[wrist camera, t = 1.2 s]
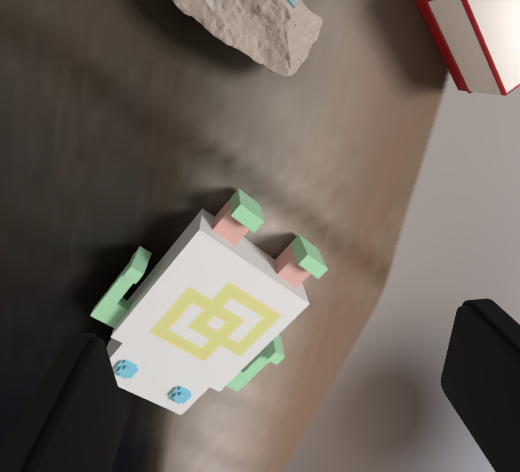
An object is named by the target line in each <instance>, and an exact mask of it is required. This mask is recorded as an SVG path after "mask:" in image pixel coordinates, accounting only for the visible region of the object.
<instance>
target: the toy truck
mask: <svg viewBox="0 0 520 472" xmlns="http://www.w3.org/2000/svg"><path fill="white" fill-rule="evenodd" d="M415 2H416V4H417V6H418V8H419V10H420V12H421V14H422V16H423V18H424V20H425V22H426V24H427V26H428V28H429V31H430V33H431V35H432V37H433V39H434V41H435V43H436V45H437V47H438V49H439V51H440V53H441V55H442V57H443V59H444V62H445V64H446V66H447V68H448V70H449V72H450V74H451V76H452V78H453V80H454V82H455V84H456V86H457V88H458V90H461V91H467V92H468V93H472V92H479V93H488V94H497V95H507V94H508V93H510V92H511V91H513V90H514V89H515V88H517V87H518V86H519V85H520V0H415Z"/></svg>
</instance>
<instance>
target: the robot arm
mask: <svg viewBox="0 0 520 472" xmlns="http://www.w3.org/2000/svg"><path fill="white" fill-rule="evenodd" d="M441 386H442V389H443V391H444V393H445V395H446V396H447V398H448V399H449V401H450V402H451V404H452V406H453V407H454V409H455V410H456V412H457V413H458V415H459V416H460V418H461V419H462V421H463V422H464V424H465V426H466V427H467V429H468V430H469V432H470V433H471V435H472V436H473V438H474V439H475V441H476V442H477V444H478V445H479V447H480V449H481V450H482V452H483V453H484V455H485V456H486V458H487V459H488V461H489V462H490V464H491V465H492V467H493V468H494V470H495V472H520V325H519V324H518V323H517V322H516V321H515V320H514V319H513V318H512V317H510V316H509V315H508V314H507V313H506V312H505V311H504V310H503V309H501V308H500V307H499V306H498V305H497V304H496V303H495V302H494V301H492V300H491V299H477V300H467V301H465V302H464V303H463V304H462V306H461V307H459V308H458V309H457V312H456V316H455V321H454V325H453V329H452V333H451V338H450V342H449V346H448V350H447V355H446V359H445V363H444V368H443V372H442V376H441ZM125 420H126V412H125V407H124V404H123V401H122V398H121V394H120V391H119V388H118V384H117V381H116V378H115V375H114V371H113V368H112V365H111V361H110V358H109V355H108V352H107V348H106V345H105V342H104V340H103V339H102V338H97V336H96V335H95V334H94V333H88V334H76V335H70V336H68V337H67V339H66V340H65V342H64V344H63V345H62V347H61V349H60V350H59V352H58V354H57V355H56V357H55V359H54V360H53V362H52V364H51V365H50V367H49V369H48V371H47V372H46V374H45V376H44V377H43V379H42V381H41V382H40V384H39V386H38V387H37V389H36V391H35V392H34V394H32V395H31V396H29V397H28V399H27V400H26V401H25V403H24V404H23V406H22V408H21V409H20V411H19V413H18V414H17V416H16V418H15V419H14V421H13V423H12V424H11V426H10V427H9V429H8V431H7V432H6V434H5V436H4V437H3V439H2V441H1V442H0V472H111V470H112V467H113V463H114V460H115V457H116V453H117V450H118V446H119V443H120V439H121V436H122V432H123V429H124V425H125Z"/></svg>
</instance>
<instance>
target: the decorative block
mask: <svg viewBox="0 0 520 472" xmlns="http://www.w3.org/2000/svg"><path fill="white" fill-rule="evenodd" d="M263 223H264V219H263V215H262V211H261V208H260V204H258V203H257V202H256V201H254V200H253V199H252V198H251V197H249V196H248V195H247V194H245V193H244V192H243V191H241V190H240V189H239V188H238V190H237V191H236V192H235V193H234V194H233V196H232V197H231V198H230V199H229V200H228V202H227V203H226V204H225V205H224V206H223V208H222V209H221V210H220V211H219V212H218V214H217V215H216V216H215V217H214V216H213V215H211V214H210V213H208V212H207V211H206V210H204V209H203V208H202V210H201V211H200V212H199V213H198V215H197V216H196V217H195V218H194V220H193V221H192V222H191V223H190V224H189V226H188V227H187V228H186V229H185V231H184V232H183V233H182V234H181V236H180V237H179V238H178V239H177V240H176V242H175V243H174V244H173V245H172V247H171V248H170V249H169V250H168V252H167V253H166V254H165V255H164V256H163V258H162V259H161V260H160V261H159V263H158V264H157V265H156V266H155V268H154V269H153V270H152V271H151V272H150V274H149V275H148V276H147V277H146V279H145V280H144V281H143V282H142V284H141V285H140V286H139V287H138V289H137V290H136V291H135V292H134V293H133V295H132V296H131V297H130V298H129V300H128V301H127V300H125V299H124V298H122V297H123V296H124V294H125V293H126V292H127V291H128V289H129V288H130V287H131V286H132V284H133V283H135V284H136V283H137V282H138V281H139V280H140V278H141V277H142V276H143V275H144V272H145V270H146V267H147V264H148V262H149V259H150V256H151V254H152V253H150V252H149V251H147V250H145V249H144V248H142V247H141V246H140V247H139V248H138V249H137V251H136V252H135V253H134V255H133V256H132V258H131V260H130V262H129V264H128V265H127V266H126V267H125V269H124V270H123V271H122V273H121V274H120V275H119V276H118V278H117V279H116V280H115V282H114V283H113V284H112V285H111V287H110V288H109V289H108V291H107V292H106V293H105V294H104V296H103V297H102V298H101V300H100V301H99V302H98V303H97V305H96V306H95V307H94V309H93V311H92V313H91V315H90V316H91V317H93V318H95V319H97V320H99V321H101V322H103V323H105V324H107V325H109V326H111V327H113V328H114V330H113V332H112V335H111V338H112V339H111V340H110V341H109V343H108V345H107V352H108V355H109V358H110V361H111V365H112V368H113V371H114V375H115V378H116V381H117V384H118V387H120V388H123V389H125V390H127V391H129V392H131V393H134V394H136V395H138V396H140V397H143V398H145V399H147V400H149V401H151V402H154V403H156V404H158V405H160V406H162V407H165V408H167V409H169V410H171V411H173V412H176V413H178V414H180V415H182V414H183V413H184V412H185V411H186V410H187V409H188V408H189V407H190V406H191V405H192V404H193V403H194V402H195V401H196V400H197V399H198V398H199V397H200V396H201V395H202V394H203V393H204V392H205V391H206V390H207V389H208V388H209V387H211V388H213V389H215V390H217V391H219V392H220V391H221V390H222V389H223V388H224V387H225V386H228V387H230V388H232V389H234V390H235V391H237V392H238V391H239V390H240V389H241V388H242V387H243V386H244V385H245V384H246V383H247V382H248V381H249V380H251V379H252V378H253V377H254V376H255V375H256V374H257V373H258V372H259V371H260V370H261V369H262V368H263V367H264V366H265V365H266V364H267V363H268V362H269V361H271V362H272V363H274V364H276V365H277V364H278V363H279V362H280V361H282V360H283V359H284V358H285V356H284V351H283V346H282V341H281V337H280V332H281V331H282V330H283V329H284V328H285V327H286V326H287V325H288V324H289V323H290V322H291V321H292V320H294V319H295V318H296V317H297V316H298V315H299V314H300V313H301V312H302V311H303V310H304V309H305V308H306V307H307V306H308V305H309V302H308V299H307V296H306V293H305V290H304V288H303V285H302V282H303V281H304V280H305V279H306V278H307V277H308V276H309V275H310V274H312V275H314V276H315V277H316V278H318V279H319V278H320V277H321V276H322V275H323V274H324V273H325V272H326V271H327V270H328V268H327V267H326V265H325V263H324V261H323V259H322V257H321V255H320V253H319V251H318V249H317V248H316V247H315V246H314V245H312V244H311V243H310V242H308V241H307V240H306V239H304V238H303V237H302V236H300V235H298V236H297V237H296V238H295V239H294V240H293V241H292V242H291V243H290V245H289V246H288V247H287V248H286V249H285V250H284V251H283V252H282V253H281V254H280V255H279V256H278V257H277V258H276V259H273V258H272V257H271V256H269V255H268V254H266V253H265V252H264V251H262V250H261V249H259V248H258V247H256V246H255V245H254V244H252V243H251V242H249V241H248V240H247V239H245V238H244V237H243V236H244V235H245V234H246V233H247V232H248V231H249V229H250V230H251V231H253V232H254V233H255V232H256V231H257V230H258V228H259V227H260V226H261V225H262V224H263Z"/></svg>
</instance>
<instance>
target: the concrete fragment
mask: <svg viewBox="0 0 520 472" xmlns="http://www.w3.org/2000/svg"><path fill="white" fill-rule="evenodd" d="M172 1H173V2H174V3H175V5H176V6H177V7H178V8H179V9H180V10H181V11H182V12H183V13H184V14H186V15H189V16H193V17H194V18H195V19H196V20H197V21H198V22H200V23H201V24H202V25H203V26H204V27H205V28H206V29H207V30H208V31H209V32H210V33H211V34H212V35H214V36H215V37H217V38H218V39H220V40H222V41H223V42H224V43H225V44H227V45H230V46H233V47H234V48H237V49H239V50H240V51H242V52H243V53H245V54H246V55H248V56H250V57H251V58H252V59H253V60H254V61H255V62H257V63H259V64H263V65H265V66H266V67H267V68H268V69H269V70H270V71H272V72H275V73H277V74H279V75H282V76H291V75H293V74H294V73H296V71H297V70H298V68H299V66H300V65H301V63H302V62H304V61H305V59H306V58H307V56H308V53H309V50H310V48H311V46H312V44H313V43H314V42H315V41H316V40H317V38H318V36H319V31H320V28H321V26H322V24H323V23H322V18H321V17H319V16H318V15H317V14H314V13H312V12H311V11H309V10H308V8H307V7H306V6H305V4H304V3H303V2H302V0H172Z"/></svg>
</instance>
